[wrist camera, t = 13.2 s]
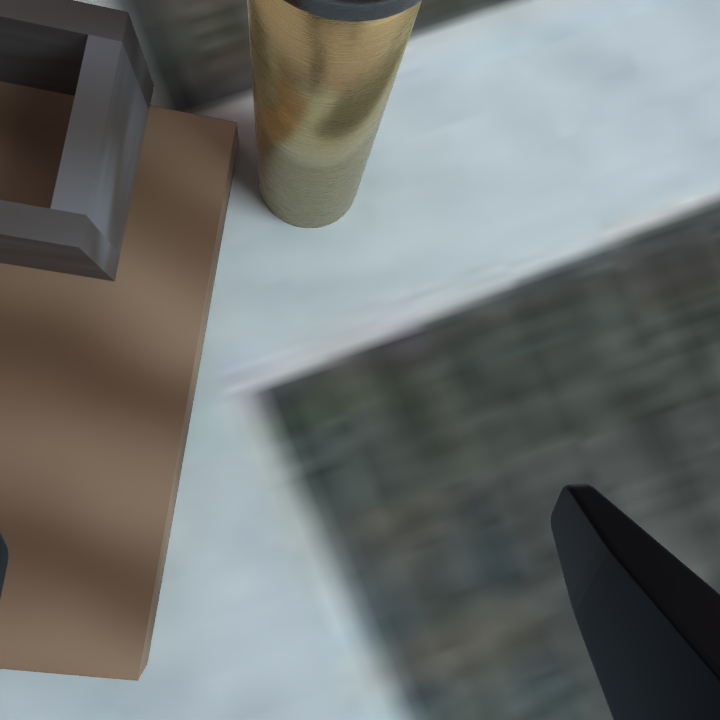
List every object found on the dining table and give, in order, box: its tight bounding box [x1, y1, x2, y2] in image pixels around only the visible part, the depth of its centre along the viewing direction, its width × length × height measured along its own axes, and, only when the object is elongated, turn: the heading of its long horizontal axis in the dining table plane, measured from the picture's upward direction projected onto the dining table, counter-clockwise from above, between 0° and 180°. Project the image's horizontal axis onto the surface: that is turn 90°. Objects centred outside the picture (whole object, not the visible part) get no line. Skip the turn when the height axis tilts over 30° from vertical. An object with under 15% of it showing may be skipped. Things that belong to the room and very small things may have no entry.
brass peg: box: [247, 0, 422, 228], centre depth 18 cm, size 5×5×14 cm
